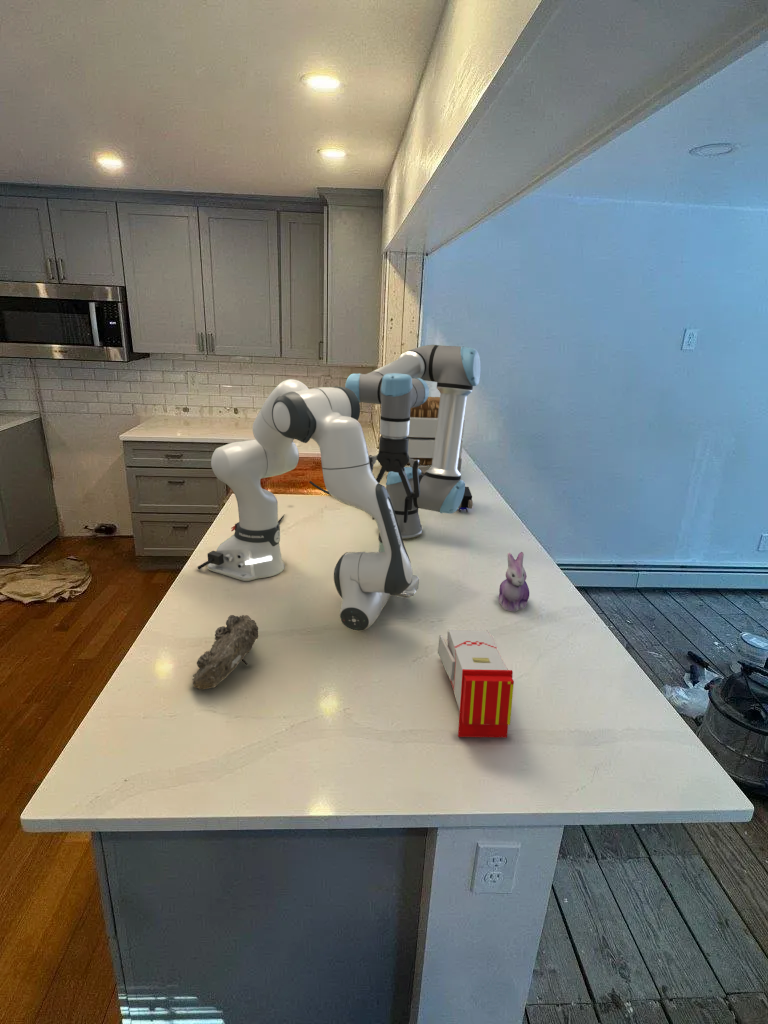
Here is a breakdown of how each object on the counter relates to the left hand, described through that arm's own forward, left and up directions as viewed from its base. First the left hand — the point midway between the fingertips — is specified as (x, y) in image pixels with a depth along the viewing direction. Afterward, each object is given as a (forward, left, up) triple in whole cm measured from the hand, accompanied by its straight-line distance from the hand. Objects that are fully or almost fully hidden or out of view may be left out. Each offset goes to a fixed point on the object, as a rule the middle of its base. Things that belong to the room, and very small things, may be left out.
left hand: (388, 568), depth 159 cm
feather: (-51, +40, -6) cm, 65 cm away
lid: (0, -1, +10) cm, 11 cm away
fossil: (-23, -46, -6) cm, 52 cm away
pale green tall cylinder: (0, -1, -6) cm, 6 cm away
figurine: (+35, +3, -6) cm, 36 cm away
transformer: (-18, +121, -6) cm, 123 cm away
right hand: (0, -1, +15) cm, 15 cm away
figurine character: (+10, +77, -6) cm, 78 cm away
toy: (+29, -38, -6) cm, 48 cm away
